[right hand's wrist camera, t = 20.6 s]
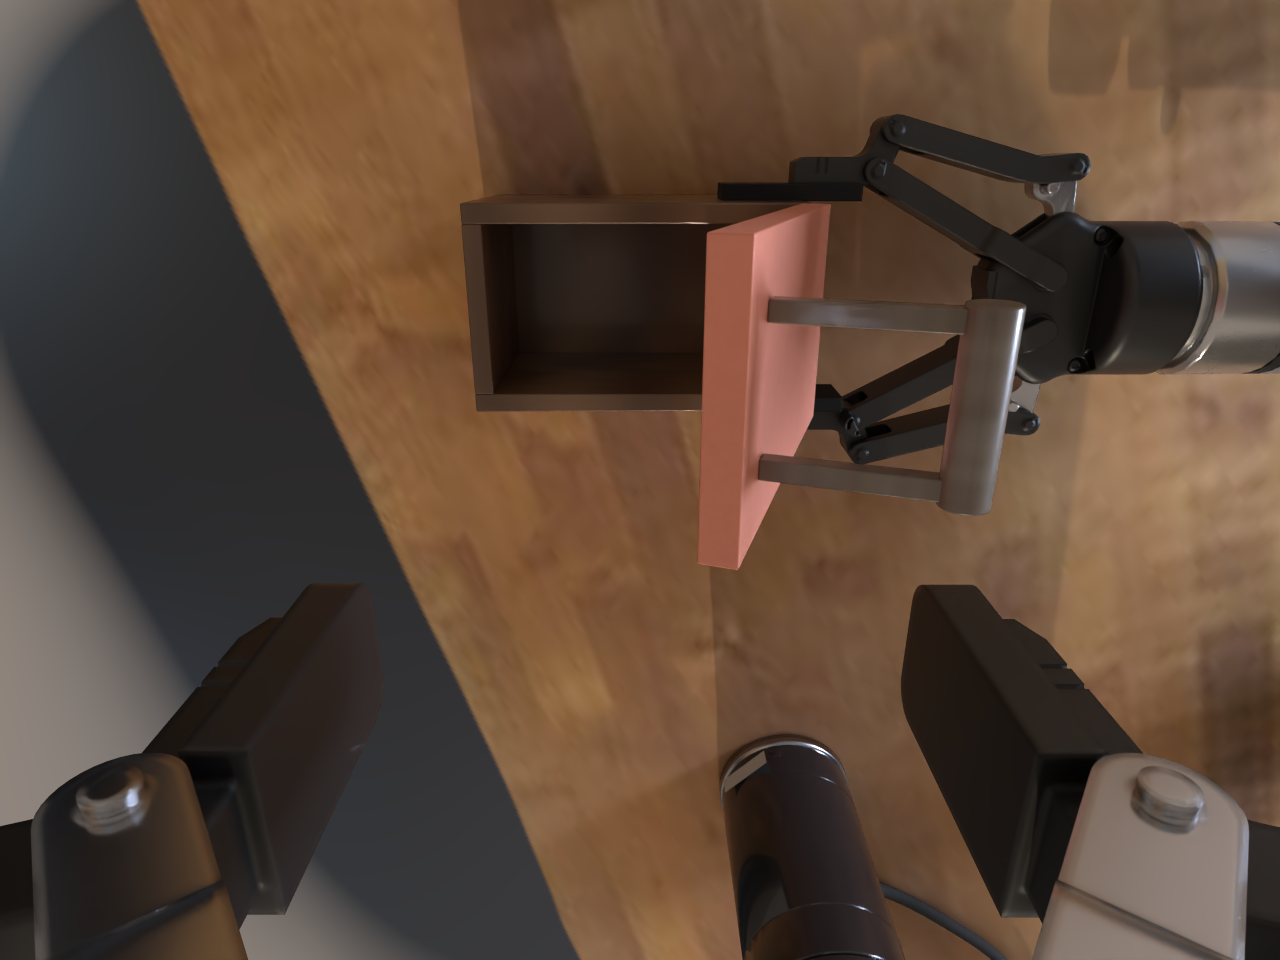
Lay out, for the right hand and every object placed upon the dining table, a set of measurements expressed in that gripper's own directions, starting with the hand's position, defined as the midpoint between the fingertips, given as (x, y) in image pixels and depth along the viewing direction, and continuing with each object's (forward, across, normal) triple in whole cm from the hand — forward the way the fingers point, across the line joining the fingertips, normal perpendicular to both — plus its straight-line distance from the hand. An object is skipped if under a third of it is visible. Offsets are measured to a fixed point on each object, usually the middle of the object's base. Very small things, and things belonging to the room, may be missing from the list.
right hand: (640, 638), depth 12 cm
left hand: (+31, -4, 0) cm, 31 cm away
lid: (+19, -4, 0) cm, 19 cm away
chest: (+37, 0, 0) cm, 37 cm away
